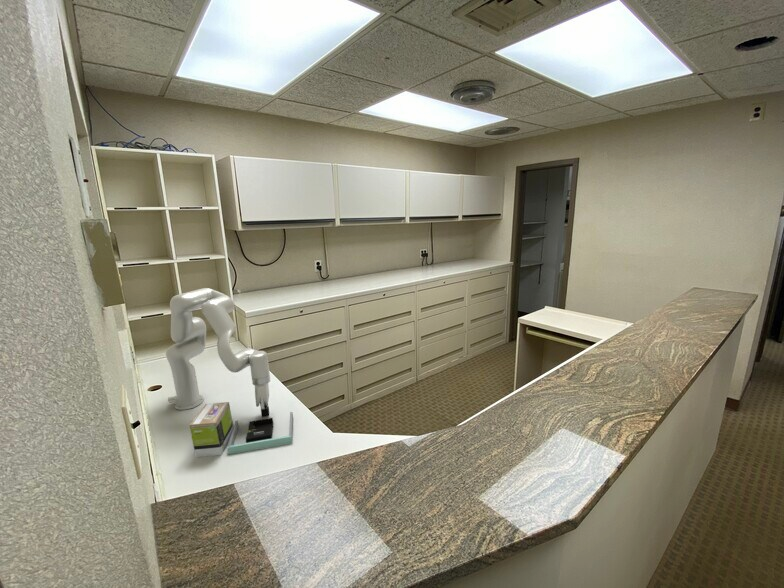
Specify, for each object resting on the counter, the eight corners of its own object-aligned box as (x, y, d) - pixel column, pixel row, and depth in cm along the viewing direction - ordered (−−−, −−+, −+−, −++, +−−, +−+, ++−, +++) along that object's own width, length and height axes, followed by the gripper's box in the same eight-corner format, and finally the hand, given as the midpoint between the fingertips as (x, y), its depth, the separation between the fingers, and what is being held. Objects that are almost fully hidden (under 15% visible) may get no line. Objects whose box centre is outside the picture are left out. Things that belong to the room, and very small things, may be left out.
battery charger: (271, 443, 143) (270, 434, 142) (246, 448, 141) (245, 439, 140) (273, 425, 155) (272, 417, 154) (250, 429, 153) (249, 421, 152)
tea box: (210, 434, 150) (205, 402, 147) (235, 432, 151) (230, 400, 147) (194, 458, 136) (188, 424, 132) (221, 455, 136) (216, 421, 133)
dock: (228, 454, 137) (227, 447, 136) (236, 426, 154) (235, 420, 154) (292, 443, 143) (291, 436, 142) (293, 417, 160) (292, 411, 159)
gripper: (254, 372, 163) (258, 408, 167) (249, 387, 149) (254, 426, 153) (271, 370, 165) (275, 405, 169) (268, 385, 150) (272, 423, 155)
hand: (265, 415), depth 161 cm, fingers closed
